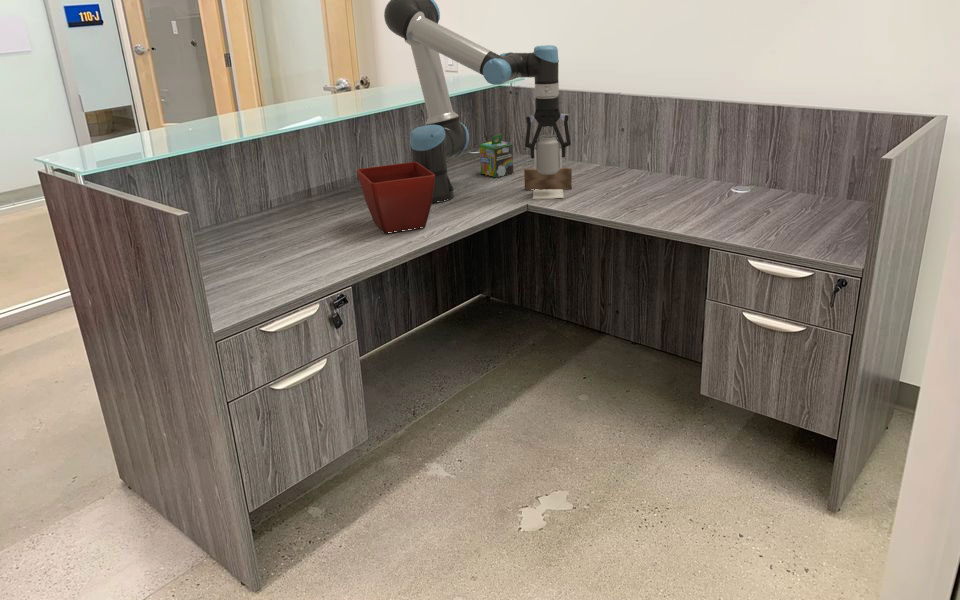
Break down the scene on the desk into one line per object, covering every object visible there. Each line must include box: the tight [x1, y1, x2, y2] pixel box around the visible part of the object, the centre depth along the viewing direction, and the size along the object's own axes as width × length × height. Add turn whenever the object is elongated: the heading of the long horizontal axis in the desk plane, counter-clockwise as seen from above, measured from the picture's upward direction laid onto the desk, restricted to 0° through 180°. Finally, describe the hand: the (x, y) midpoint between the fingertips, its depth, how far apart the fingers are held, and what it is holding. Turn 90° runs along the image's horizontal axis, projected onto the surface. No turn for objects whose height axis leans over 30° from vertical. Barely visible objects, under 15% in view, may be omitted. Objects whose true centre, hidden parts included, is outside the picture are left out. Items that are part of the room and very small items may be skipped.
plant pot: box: [356, 161, 435, 234], centre depth 228 cm, size 19×19×17 cm
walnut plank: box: [523, 167, 573, 191], centre depth 261 cm, size 16×2×7 cm, turn 85°
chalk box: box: [479, 133, 514, 178], centre depth 282 cm, size 9×9×15 cm
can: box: [535, 134, 560, 175], centre depth 249 cm, size 8×8×12 cm
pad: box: [532, 189, 564, 200], centre depth 255 cm, size 10×10×1 cm
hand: (548, 167), depth 251 cm, fingers closed on can, 7 cm apart
